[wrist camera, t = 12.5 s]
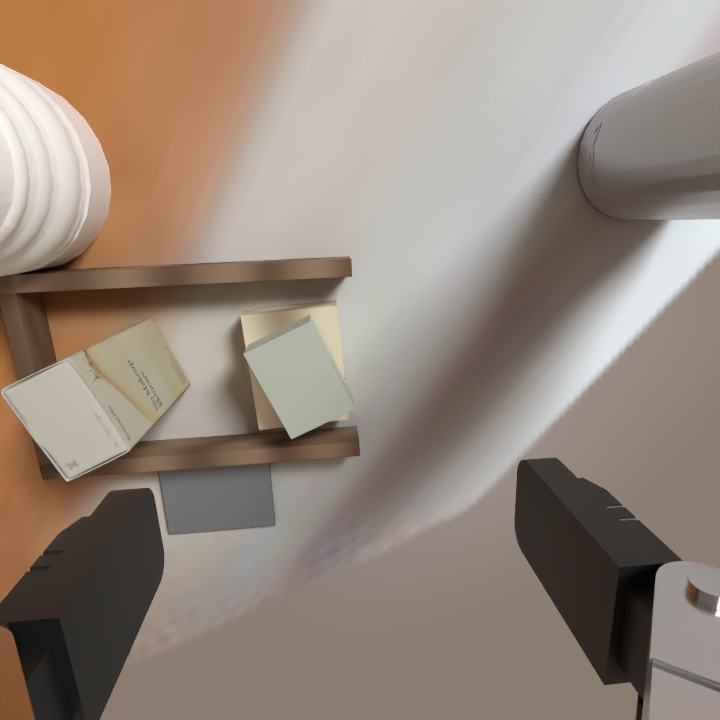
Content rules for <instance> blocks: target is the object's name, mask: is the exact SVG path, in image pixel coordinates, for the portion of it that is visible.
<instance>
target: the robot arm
mask: <svg viewBox="0 0 720 720" xmlns="http://www.w3.org/2000/svg"><path fill="white" fill-rule="evenodd" d="M578 174H579V178H580V183H581V186H582V188H583V190H584V193H585V195H586V197H587V198H588V199H589V201H590V202H591V203H592V205H593V206H594V207H596V208H597V209H598V210H599V211H601V212H602V213H603V214H606V215H608V216H610V217H612V218H616V219H622V220H693V219H720V52H718V53H715V54H713V55H711V56H708V57H706V58H704V59H701V60H699V61H697V62H694V63H692V64H690V65H687V66H685V67H683V68H680V69H678V70H676V71H673V72H671V73H669V74H666V75H664V76H661V77H659V78H657V79H654V80H652V81H650V82H647V83H645V84H643V85H640V86H638V87H636V88H633V89H631V90H629V91H626V92H624V93H622V94H620V95H618V96H616V97H614V98H613V99H612V100H610V101H609V102H608V103H607V104H605V105H604V106H603V107H602V108H601V109H600V110H599V111H598V112H597V114H596V115H595V116H594V117H593V118H592V120H591V122H590V124H589V125H588V127H587V129H586V130H585V133H584V136H583V138H582V141H581V144H580V149H579V155H578ZM515 532H516V537H517V541H518V544H519V547H520V549H521V551H522V553H523V554H524V556H525V558H526V559H527V561H528V562H529V564H530V566H531V567H532V569H533V570H534V572H535V574H536V575H537V577H538V579H539V580H540V582H541V583H542V585H543V587H544V588H545V590H546V591H547V593H548V595H549V596H550V598H551V599H552V601H553V603H554V604H555V606H556V607H557V609H558V611H559V612H560V614H561V615H562V617H563V619H564V620H565V622H566V624H567V625H568V627H569V629H570V630H571V632H572V633H573V635H574V637H575V638H576V640H577V642H578V643H579V645H580V646H581V648H582V650H583V651H584V653H585V654H586V656H587V658H588V659H589V661H590V663H591V664H592V666H593V667H594V669H595V671H596V672H597V674H598V675H599V677H600V679H601V680H602V682H603V683H604V685H609V684H618V683H627V682H631V684H632V685H633V686H634V688H635V689H636V691H637V692H638V695H637V702H636V708H635V720H720V569H718V568H715V567H712V566H709V565H705V564H701V563H696V562H687V561H682V560H681V559H680V558H679V557H678V556H677V555H676V554H675V553H674V552H673V551H672V550H670V549H669V548H668V547H667V546H666V545H665V544H664V543H663V542H662V541H661V540H660V539H659V538H658V537H656V536H655V535H654V534H653V533H652V532H651V531H650V530H649V529H648V528H647V527H646V526H645V525H643V524H642V523H641V522H640V521H639V520H636V519H635V516H634V515H633V514H632V513H631V512H629V511H628V510H627V509H626V508H625V507H624V508H623V507H622V504H621V503H619V502H618V501H617V500H616V499H615V498H614V497H613V496H612V495H611V494H610V493H609V492H608V491H607V490H605V489H604V488H602V487H599V486H598V485H596V484H594V483H592V482H590V481H588V480H586V479H584V478H577V477H576V476H575V475H574V474H573V473H572V472H571V471H570V470H569V469H568V468H567V467H566V466H565V465H564V464H563V463H562V462H561V461H559V460H558V459H557V458H544V459H530V460H522V461H520V463H519V465H518V470H517V487H516V504H515ZM163 569H164V549H163V543H162V538H161V532H160V526H159V521H158V515H157V509H156V504H155V499H154V495H153V492H152V491H151V489H149V488H140V489H127V490H114V491H110V492H109V493H108V494H107V495H106V497H105V498H104V499H103V500H102V502H101V503H100V504H99V505H98V507H97V508H96V509H95V511H94V512H93V513H92V514H91V516H88V517H82V518H80V519H79V520H78V521H76V522H75V523H73V524H72V525H70V526H69V527H68V528H66V529H65V530H63V531H62V532H60V533H59V534H58V535H57V536H56V538H55V539H54V540H53V541H52V542H51V544H50V545H49V546H48V547H47V548H46V550H45V551H44V554H43V555H42V556H40V557H39V558H38V559H37V560H36V561H35V563H34V564H33V565H32V566H31V567H30V572H26V573H25V575H24V576H23V577H22V578H21V579H20V580H19V582H18V583H17V584H16V585H15V586H14V588H13V589H12V590H11V591H10V592H9V594H8V595H7V596H6V597H5V598H4V600H3V601H2V602H1V603H0V720H100V717H101V715H102V713H103V711H104V708H105V706H106V704H107V702H108V699H109V697H110V695H111V692H112V690H113V688H114V686H115V683H116V681H117V679H118V677H119V675H120V672H121V670H122V668H123V666H124V663H125V661H126V659H127V656H128V654H129V652H130V650H131V647H132V645H133V643H134V641H135V638H136V636H137V634H138V632H139V629H140V627H141V625H142V623H143V620H144V618H145V616H146V614H147V611H148V609H149V607H150V605H151V602H152V600H153V598H154V596H155V593H156V591H157V589H158V587H159V584H160V582H161V579H162V575H163Z"/></svg>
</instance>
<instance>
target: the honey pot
mask: <svg viewBox="0 0 720 720" xmlns="http://www.w3.org/2000/svg"><path fill="white" fill-rule="evenodd" d="M110 197H111V185H110V176H109V167H108V164H107V161H106V159H105V156H104V153H103V150H102V148H101V145H100V142H99V140H98V139H97V137H96V136H95V134H94V133H93V131H92V130H91V128H90V127H89V125H88V123H87V122H86V120H85V119H84V118H83V117H82V116H81V115H80V114H79V113H78V112H77V111H76V110H75V109H74V108H73V107H72V106H71V105H70V104H69V103H68V102H67V101H66V100H65V99H64V98H63V97H61V96H59V95H58V94H56V93H55V92H53V91H51V90H50V89H48V88H46V87H45V86H43V85H41V84H40V83H38V82H36V81H34V80H32V79H30V78H28V77H26V76H24V75H22V74H20V73H18V72H16V71H14V70H12V69H10V68H8V67H6V66H4V65H2V64H0V277H1V276H5V275H12V274H20V273H26V272H32V271H38V270H43V269H47V268H51V267H55V266H59V265H63V264H65V263H67V262H68V261H70V260H72V259H73V258H75V257H77V256H79V255H80V254H82V253H83V252H84V251H85V250H86V249H87V248H88V247H89V246H90V245H91V244H92V242H93V241H94V240H95V239H96V238H97V237H98V235H99V233H100V231H101V229H102V227H103V225H104V222H105V220H106V218H107V216H108V210H109V204H110Z"/></svg>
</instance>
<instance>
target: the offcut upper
mask: <svg viewBox="0 0 720 720" xmlns="http://www.w3.org/2000/svg"><path fill="white" fill-rule="evenodd" d="M243 355H244V357H245V358H246V360H247V362H248V364H249V365H250V367H251V369H252V371H253V372H254V374H255V376H256V378H257V379H258V381H259V383H260V385H261V387H262V388H263V390H264V392H265V394H266V395H267V397H268V399H269V401H270V402H271V404H272V406H273V408H274V409H275V411H276V413H277V415H278V416H279V418H280V420H281V422H282V424H283V425H284V427H285V429H286V431H287V432H288V434H289V436H290V438H291V439H293V438H295V437H297V436H299V435H302V434H304V433H306V432H308V431H310V430H312V429H314V428H316V427H318V426H321V425H323V424H325V423H327V422H329V421H331V420H333V419H335V418H337V417H340V416H342V415H344V414H346V413H348V412H350V411H352V410H354V403H353V398H352V394H351V392H350V390H349V388H348V386H347V384H346V382H345V380H344V379H343V377H342V375H341V373H340V371H339V369H338V367H337V365H336V363H335V361H334V359H333V357H332V355H331V353H330V351H329V349H328V347H327V345H326V343H325V341H324V339H323V337H322V335H321V333H320V331H319V330H318V328H317V326H316V324H315V322H314V320H313V318H312V316H311V314H310V315H308V316H306V317H304V318H302V319H300V320H298V321H296V322H293V323H291V324H289V325H287V326H285V327H283V328H281V329H279V330H277V331H275V332H273V333H271V334H269V335H267V336H265V337H263V338H260V339H258V340H256V341H254V342H252V343H250V344H249V345H248V347H247V349H246V350H245V352H244V354H243Z"/></svg>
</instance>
